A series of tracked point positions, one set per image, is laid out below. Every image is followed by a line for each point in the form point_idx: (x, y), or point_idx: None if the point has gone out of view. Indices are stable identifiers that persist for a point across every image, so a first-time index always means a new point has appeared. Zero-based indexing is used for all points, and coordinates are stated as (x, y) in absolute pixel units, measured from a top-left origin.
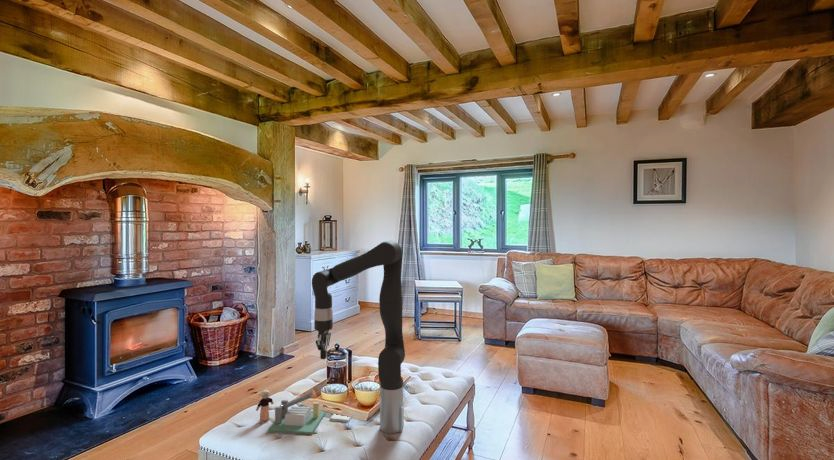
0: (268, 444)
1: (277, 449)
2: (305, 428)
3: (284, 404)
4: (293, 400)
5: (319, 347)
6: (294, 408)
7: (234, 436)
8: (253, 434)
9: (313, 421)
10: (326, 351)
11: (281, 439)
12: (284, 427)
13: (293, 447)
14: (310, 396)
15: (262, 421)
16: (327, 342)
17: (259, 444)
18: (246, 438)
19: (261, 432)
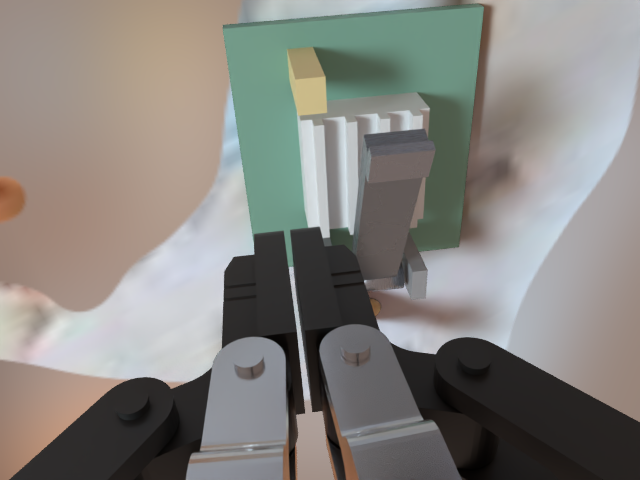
0: (559, 183)
1: (606, 122)
2: (444, 67)
3: (370, 275)
4: (373, 242)
5: (486, 468)
6: (328, 215)
7: (488, 335)
8: (474, 282)
9: (360, 55)
10: (266, 304)
11: (520, 148)
12: (437, 184)
13: (600, 51)
14: (421, 135)
15: (376, 305)
16: (282, 476)
17: (555, 218)
18: (505, 289)
19: (457, 262)
